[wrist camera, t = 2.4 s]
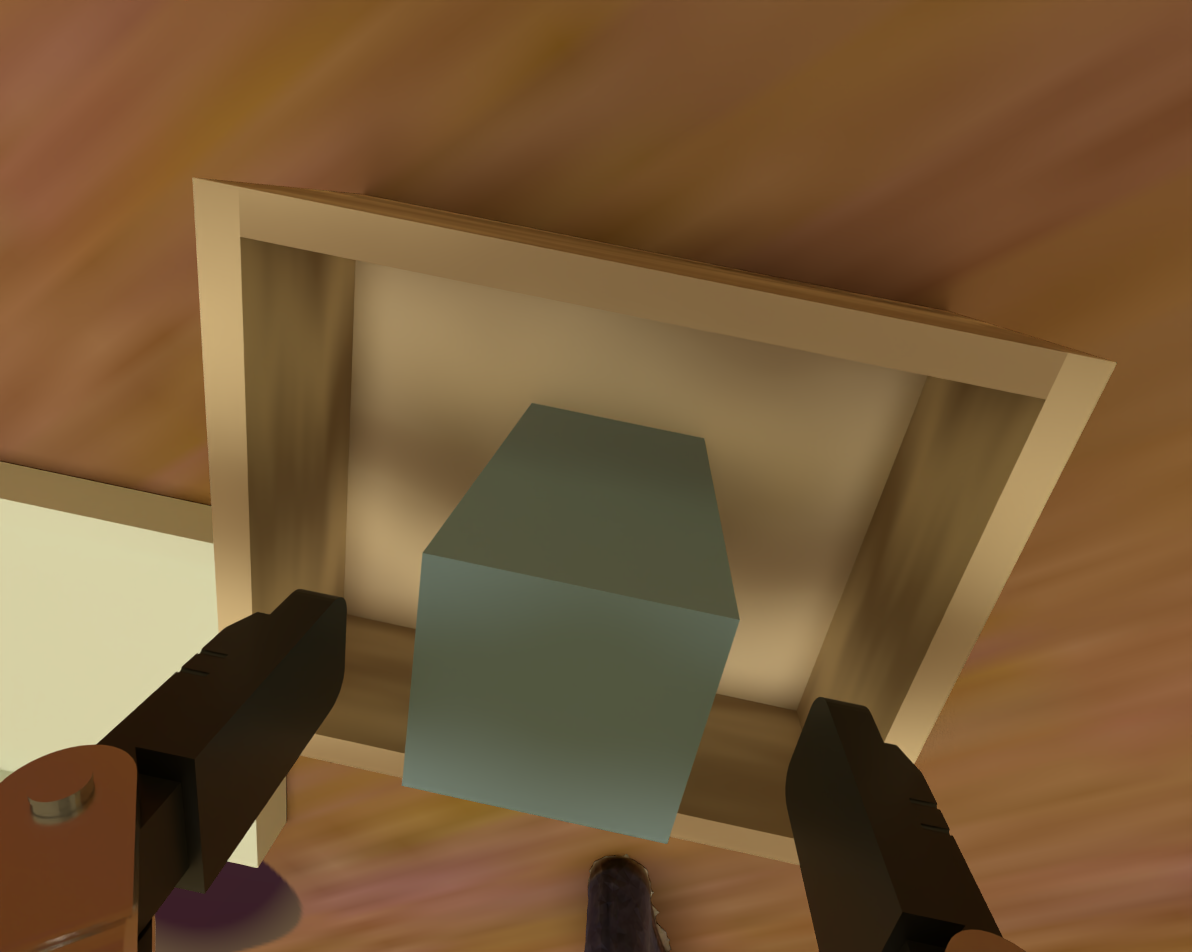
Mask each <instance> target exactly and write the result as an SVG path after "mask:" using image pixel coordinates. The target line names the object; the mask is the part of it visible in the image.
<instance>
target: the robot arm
mask: <svg viewBox="0 0 1192 952" xmlns="http://www.w3.org/2000/svg"><path fill="white" fill-rule="evenodd" d="M346 622H347V604H346V601H345V599H344V598H343V597H338V596H333V595H328V594H323V593H319V592H314V591H309V590H304V589H297V590H295V591H294V592H292V593H291V594H290V595H289V596H288V597H287V598H286V599H285V600H284V601H283V602H282V603H281V604H280V605H279V606H278V607H277V608H276V609H275V610H274V611H273V612H272V613H271V614H265V613H260V612H256V613H254V614H252V615H250V616H248V617H246V618H244V619H242V620H239V621H237V622H235V623H233V624H231V625H229V626H227V627H225V628H224V629H223V630H222V631H221V632H220V633H218V634H217V635H216V636H215V637H214V638H213V639H212V640H211V641H210V642H208V643H207V644H206V645H205V646H204V647H203V648H202V649H201V652H200V654H198V653H196V654H195V655H194V656H193V657H192V658H191V659H190V660H189V661H188V662H186V663H185V664H184V665H183V666H182V667H181V671H180V672H175V673H174V674H173V675H172V676H171V677H170V678H169V679H168V680H167V681H166V682H164V683H163V684H162V685H161V686H160V687H159V688H158V689H157V690H156V691H154V692H153V693H152V694H151V695H150V696H149V697H148V698H147V699H146V700H145V701H143V702H142V703H141V704H140V705H139V706H138V707H137V708H136V709H135V710H134V711H132V712H131V713H130V714H129V715H128V716H127V717H126V718H125V719H124V720H123V721H121V722H120V723H119V724H118V725H117V726H116V727H115V728H114V729H113V730H112V731H110V732H109V733H108V734H107V735H106V736H105V737H104V738H103V739H102V740H100V741H99V742H98V743H97V744H96V745H81V746H76V747H70V748H66V749H62V750H59V751H55V752H53V753H50V754H47V755H44V756H42V757H40V758H38V759H36V760H33V761H31V762H29V763H28V764H26V765H24V766H22V767H21V768H19V769H17V770H16V771H15V772H13V773H12V774H10V775H9V776H7V777H6V778H5V779H4V780H3V781H2V782H1V783H0V952H155V940H156V936H155V935H156V934H155V932H156V931H155V930H156V929H155V926H156V924H155V915H154V914H155V913H156V912H157V910H158V909H159V907H160V906H161V905H162V904H163V902H164V901H165V900H166V898H167V897H168V895H169V894H170V893H171V891H172V890H173V889H174V887H176V888H181V889H186V890H191V891H195V892H200V893H206V891H207V890H208V888H209V887H210V886H211V884H212V883H213V881H214V879H215V878H216V877H217V875H218V874H219V872H220V871H221V869H222V868H223V867H224V865H225V864H226V862H227V861H228V859H229V858H230V856H231V855H232V854H233V852H234V851H235V849H236V848H237V846H238V845H239V843H240V842H241V840H242V839H243V837H244V836H245V835H246V833H247V832H248V830H249V829H250V827H251V826H252V824H253V823H254V821H255V820H256V819H257V817H258V816H259V814H260V813H261V811H262V810H263V808H264V807H265V805H266V804H267V803H268V801H269V800H270V798H271V797H272V795H273V794H274V792H275V791H276V789H277V788H278V787H279V785H280V784H281V782H282V781H283V779H284V778H285V776H286V775H287V773H288V772H289V771H290V769H291V768H292V766H293V765H294V763H295V762H296V760H297V759H298V757H299V756H300V755H301V753H302V752H303V750H304V749H305V747H306V746H307V744H308V743H309V741H310V740H311V739H312V737H313V736H314V734H315V733H316V731H317V730H318V728H319V727H320V725H321V724H322V723H323V721H324V720H325V718H326V717H327V715H328V714H329V712H330V711H331V709H332V708H333V706H334V704H335V702H336V700H337V698H338V695H339V693H340V690H341V687H342V683H343V679H344V672H345V649H346ZM785 797H786V806H787V810H788V815H789V819H790V824H791V828H792V833H793V837H794V841H795V846H796V850H797V855H798V859H799V864H800V868H801V872H802V877H803V881H804V886H805V890H806V895H807V899H808V903H809V908H810V912H811V917H812V921H813V926H814V930H815V934H816V939H817V943H818V948H819V952H1026V951H1024V950H1023V949H1021V948H1020V947H1018V946H1017V945H1015V944H1014V943H1012V942H1010V941H1008V940H1006V939H1004V938H1003V937H1002V935H1001V933H1000V931H999V929H998V927H997V925H996V922H995V920H994V918H993V916H992V914H991V912H990V910H989V908H988V906H987V904H986V902H985V900H984V898H983V896H982V894H981V892H980V890H979V888H978V886H977V884H976V882H975V880H974V878H973V876H972V874H971V872H970V870H969V868H968V866H967V863H966V861H965V859H964V857H963V855H962V853H961V851H960V849H959V847H958V845H957V843H956V841H955V839H954V837H953V836H951V835H950V834H949V830H950V829H949V827H948V825H947V823H946V821H945V819H944V817H943V815H942V813H941V811H940V810H939V809H937V802H936V800H935V798H934V796H933V794H932V792H931V790H930V788H929V786H928V784H927V782H926V780H925V778H924V776H923V774H922V773H921V772H920V770H919V769H918V768H917V767H916V766H915V765H914V764H913V763H912V762H911V760H910V759H909V758H908V757H907V756H906V755H905V754H904V753H903V752H902V750H901V749H900V748H899V747H898V746H897V745H894V744H889V743H884V741H883V739H882V737H881V734H880V732H879V730H878V728H877V725H876V723H875V721H874V719H873V716H872V714H871V712H870V710H869V709H868V708H867V707H866V706H863V705H858V704H853V703H849V702H844V701H839V700H834V699H829V698H824V697H818V698H816V699H815V700H814V702H813V704H812V706H811V708H810V711H809V713H808V716H807V719H806V721H805V724H804V726H803V729H802V732H801V734H800V737H799V739H798V742H797V745H796V747H795V750H794V753H793V755H792V758H791V760H790V763H789V766H788V770H787V775H786V785H785Z"/></svg>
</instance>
